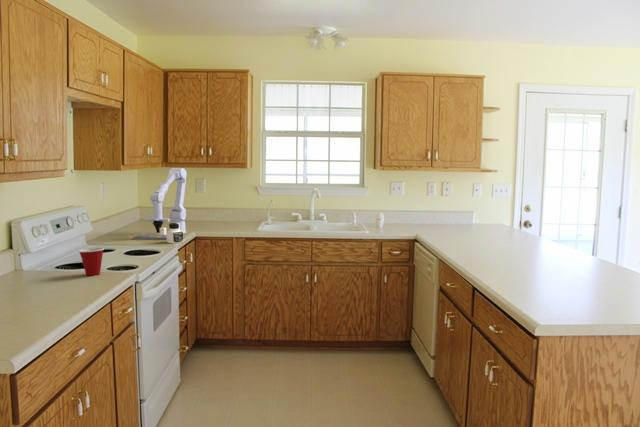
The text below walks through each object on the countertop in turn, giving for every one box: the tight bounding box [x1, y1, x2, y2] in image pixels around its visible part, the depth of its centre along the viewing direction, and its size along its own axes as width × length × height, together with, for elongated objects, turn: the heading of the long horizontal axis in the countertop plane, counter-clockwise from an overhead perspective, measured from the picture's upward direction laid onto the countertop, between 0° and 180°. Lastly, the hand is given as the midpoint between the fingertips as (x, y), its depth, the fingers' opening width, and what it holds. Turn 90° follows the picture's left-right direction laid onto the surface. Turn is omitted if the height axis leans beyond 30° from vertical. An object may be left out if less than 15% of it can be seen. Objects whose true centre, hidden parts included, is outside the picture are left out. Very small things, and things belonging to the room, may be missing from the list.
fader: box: [160, 226, 167, 235], centre depth 328 cm, size 3×3×5 cm
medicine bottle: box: [166, 222, 184, 244], centre depth 312 cm, size 7×7×12 cm
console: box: [132, 232, 167, 241], centre depth 328 cm, size 14×22×2 cm, turn 84°
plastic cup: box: [77, 247, 105, 277], centre depth 231 cm, size 11×11×12 cm
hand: (158, 232), depth 328 cm, fingers closed
